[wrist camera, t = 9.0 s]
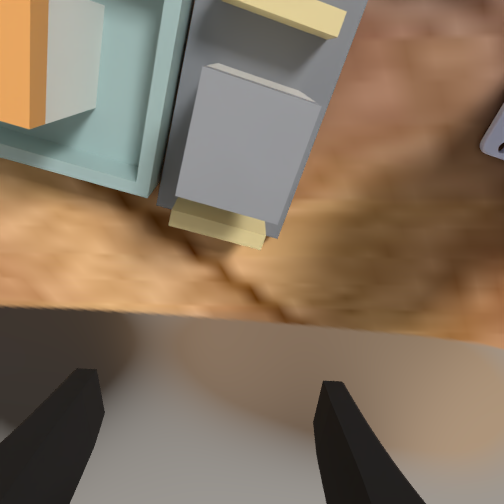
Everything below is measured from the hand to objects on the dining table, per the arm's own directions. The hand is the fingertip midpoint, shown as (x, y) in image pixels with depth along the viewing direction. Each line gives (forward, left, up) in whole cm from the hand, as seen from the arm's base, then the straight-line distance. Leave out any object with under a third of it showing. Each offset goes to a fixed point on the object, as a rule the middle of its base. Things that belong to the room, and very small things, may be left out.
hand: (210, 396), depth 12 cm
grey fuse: (+1, -7, -9) cm, 11 cm away
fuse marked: (+10, -8, -9) cm, 15 cm away
